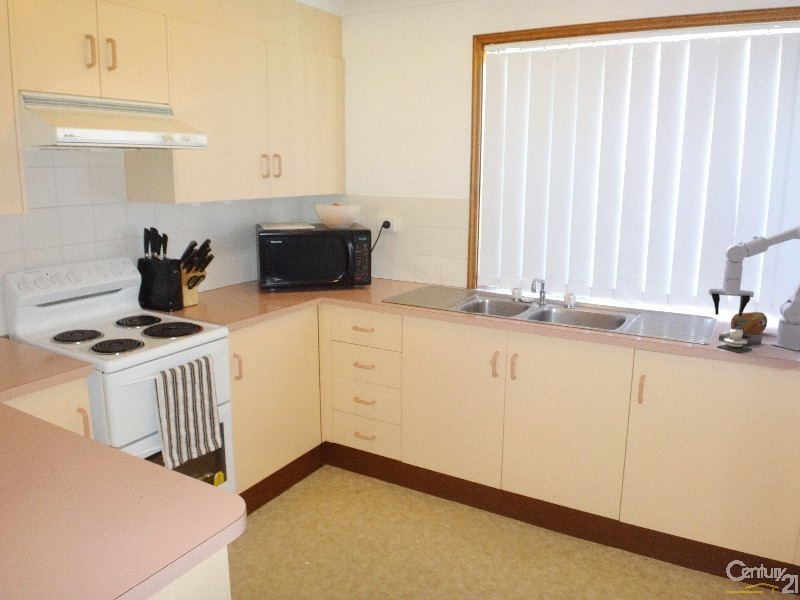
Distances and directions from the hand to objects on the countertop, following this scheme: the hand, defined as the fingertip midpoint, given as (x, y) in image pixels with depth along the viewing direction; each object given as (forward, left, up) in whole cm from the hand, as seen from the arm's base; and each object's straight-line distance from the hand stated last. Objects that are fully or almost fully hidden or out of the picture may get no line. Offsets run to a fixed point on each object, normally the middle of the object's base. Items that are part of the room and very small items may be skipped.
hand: (728, 315), depth 237 cm
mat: (-9, +9, -9) cm, 16 cm away
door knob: (-9, +8, -9) cm, 15 cm away
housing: (-4, -2, -9) cm, 11 cm away
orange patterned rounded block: (+2, -17, -10) cm, 20 cm away
